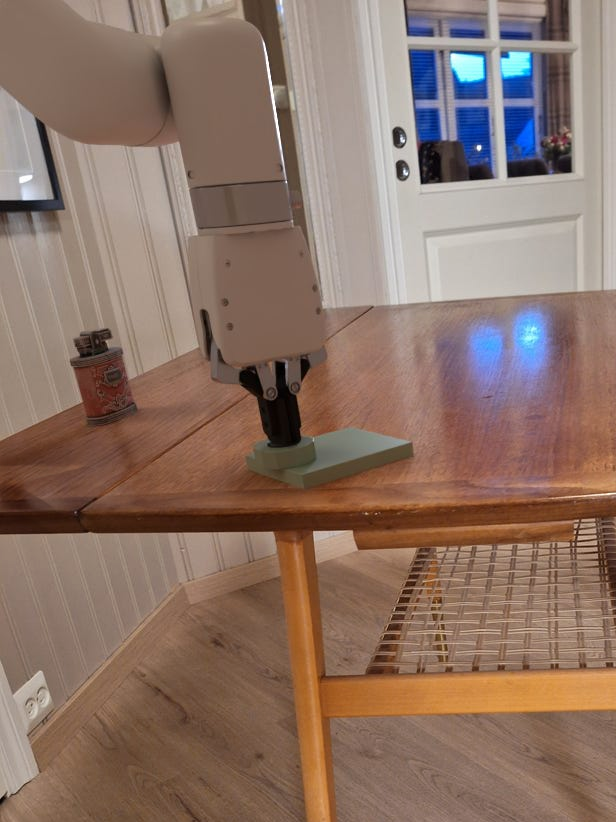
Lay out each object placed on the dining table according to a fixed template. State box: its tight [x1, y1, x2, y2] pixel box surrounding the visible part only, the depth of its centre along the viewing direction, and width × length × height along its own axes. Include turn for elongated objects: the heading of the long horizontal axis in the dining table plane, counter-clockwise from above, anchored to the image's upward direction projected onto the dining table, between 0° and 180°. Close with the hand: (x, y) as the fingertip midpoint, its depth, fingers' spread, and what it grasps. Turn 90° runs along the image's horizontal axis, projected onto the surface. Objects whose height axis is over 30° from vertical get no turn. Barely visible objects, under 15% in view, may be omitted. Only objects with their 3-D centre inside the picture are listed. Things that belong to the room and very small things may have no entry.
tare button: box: [270, 441, 298, 448], centre depth 77 cm, size 2×2×2 cm
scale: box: [244, 426, 414, 490], centre depth 80 cm, size 13×10×3 cm
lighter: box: [68, 327, 138, 427], centre depth 103 cm, size 8×3×10 cm, turn 167°
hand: (284, 440), depth 77 cm, fingers closed
